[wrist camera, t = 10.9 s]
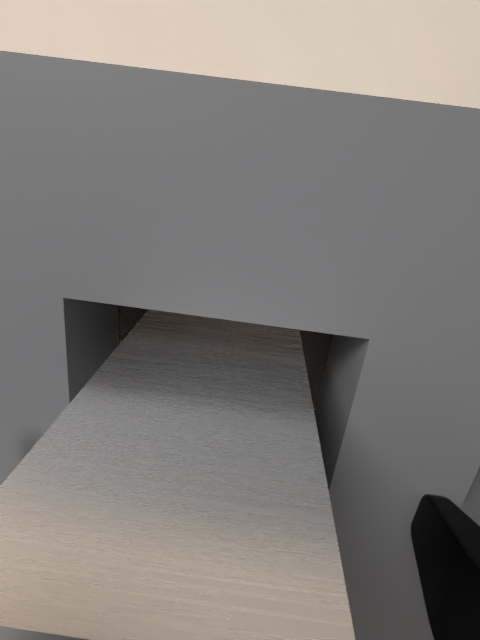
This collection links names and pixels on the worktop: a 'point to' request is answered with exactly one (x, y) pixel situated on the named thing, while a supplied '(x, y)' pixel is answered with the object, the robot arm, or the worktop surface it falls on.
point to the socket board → (257, 271)
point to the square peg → (177, 498)
